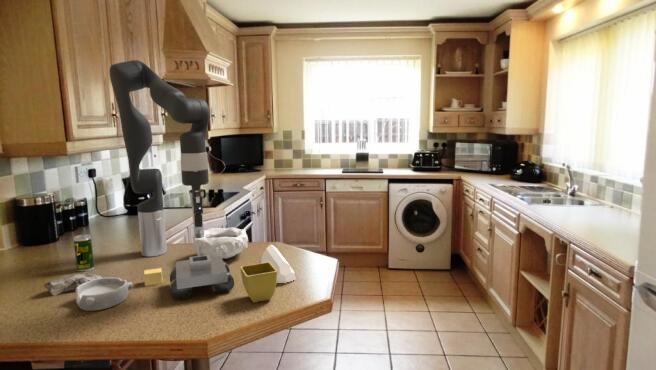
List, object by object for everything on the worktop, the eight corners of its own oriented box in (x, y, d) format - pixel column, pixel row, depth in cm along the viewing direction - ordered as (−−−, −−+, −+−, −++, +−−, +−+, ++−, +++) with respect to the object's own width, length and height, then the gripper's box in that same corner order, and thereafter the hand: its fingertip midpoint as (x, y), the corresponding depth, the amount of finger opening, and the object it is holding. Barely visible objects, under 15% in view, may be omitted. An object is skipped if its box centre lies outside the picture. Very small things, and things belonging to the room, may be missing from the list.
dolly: (170, 283, 130) (168, 254, 128) (228, 275, 136) (226, 247, 135) (170, 304, 115) (167, 271, 114) (235, 293, 121) (233, 262, 120)
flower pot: (247, 307, 112) (246, 276, 111) (241, 295, 120) (239, 266, 119) (278, 301, 116) (277, 271, 114) (270, 290, 124) (269, 261, 122)
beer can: (77, 268, 145) (74, 235, 144) (95, 265, 148) (91, 233, 146) (75, 273, 141) (72, 239, 139) (93, 270, 143) (90, 237, 141)
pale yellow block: (145, 282, 132) (144, 270, 131) (162, 279, 134) (161, 268, 133) (145, 286, 128) (144, 274, 128) (162, 284, 130) (161, 272, 129)
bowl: (209, 248, 167) (208, 224, 165) (257, 250, 163) (256, 225, 161) (182, 265, 147) (180, 238, 145) (235, 268, 142) (233, 240, 141)
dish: (93, 317, 108) (91, 299, 108) (64, 306, 115) (62, 289, 114) (141, 296, 121) (140, 280, 120) (112, 288, 128) (111, 272, 127)
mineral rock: (101, 279, 135) (99, 266, 134) (101, 287, 128) (100, 274, 127) (47, 289, 128) (45, 275, 127) (44, 298, 121) (42, 284, 120)
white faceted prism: (254, 252, 147) (268, 275, 125) (271, 241, 149) (287, 261, 127) (265, 268, 150) (280, 293, 127) (282, 257, 151) (299, 279, 129)
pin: (192, 236, 124) (190, 200, 123) (205, 234, 126) (202, 199, 124) (193, 239, 121) (190, 202, 119) (205, 237, 122) (203, 201, 120)
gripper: (180, 166, 125) (184, 221, 128) (181, 171, 112) (186, 232, 115) (205, 165, 128) (209, 219, 130) (210, 170, 115) (213, 229, 118)
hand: (198, 225), depth 123 cm, fingers closed on pin, 2 cm apart
